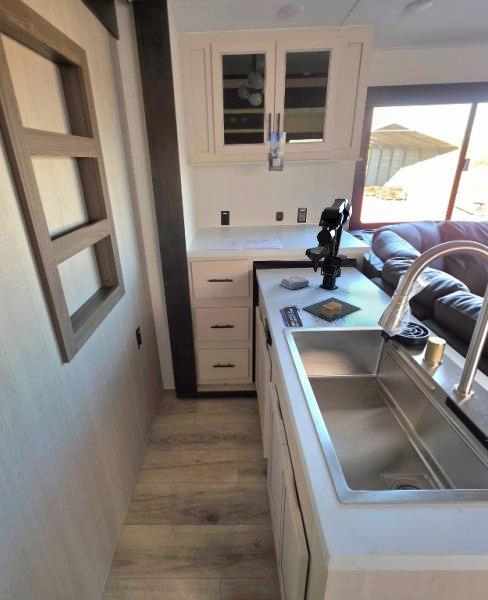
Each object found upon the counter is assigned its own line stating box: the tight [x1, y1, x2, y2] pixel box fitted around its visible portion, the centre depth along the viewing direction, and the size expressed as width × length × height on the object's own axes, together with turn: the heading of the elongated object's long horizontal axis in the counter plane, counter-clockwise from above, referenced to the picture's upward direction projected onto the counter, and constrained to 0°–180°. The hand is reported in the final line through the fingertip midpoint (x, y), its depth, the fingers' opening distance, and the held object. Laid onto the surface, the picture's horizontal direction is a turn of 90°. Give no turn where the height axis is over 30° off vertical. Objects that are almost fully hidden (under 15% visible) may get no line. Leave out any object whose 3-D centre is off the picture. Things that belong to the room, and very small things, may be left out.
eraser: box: [321, 302, 342, 318], centre depth 127 cm, size 7×4×4 cm, turn 125°
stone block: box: [280, 275, 310, 290], centre depth 158 cm, size 12×5×10 cm
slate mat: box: [302, 297, 361, 322], centre depth 133 cm, size 20×14×1 cm
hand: (323, 274), depth 137 cm, fingers open, 9 cm apart
